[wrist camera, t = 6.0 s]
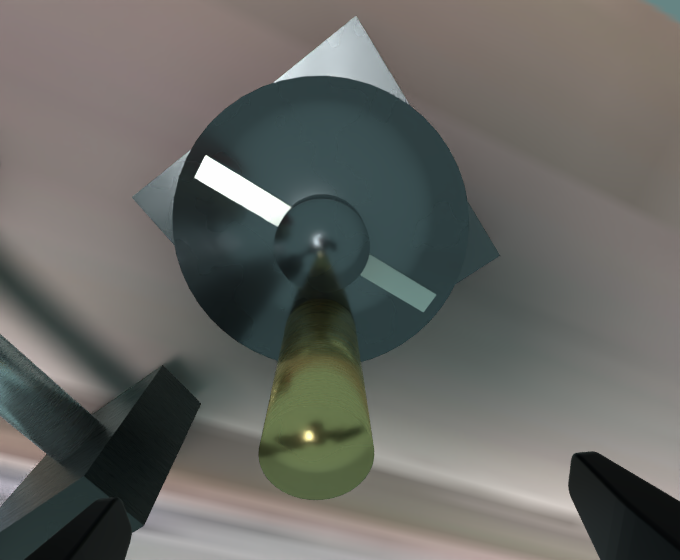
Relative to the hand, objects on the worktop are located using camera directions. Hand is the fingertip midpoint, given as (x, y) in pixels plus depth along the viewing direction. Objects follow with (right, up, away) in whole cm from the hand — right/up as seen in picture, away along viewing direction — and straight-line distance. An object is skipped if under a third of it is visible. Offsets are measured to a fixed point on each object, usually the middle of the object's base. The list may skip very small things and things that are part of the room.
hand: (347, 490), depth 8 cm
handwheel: (-1, +6, +7) cm, 9 cm away
